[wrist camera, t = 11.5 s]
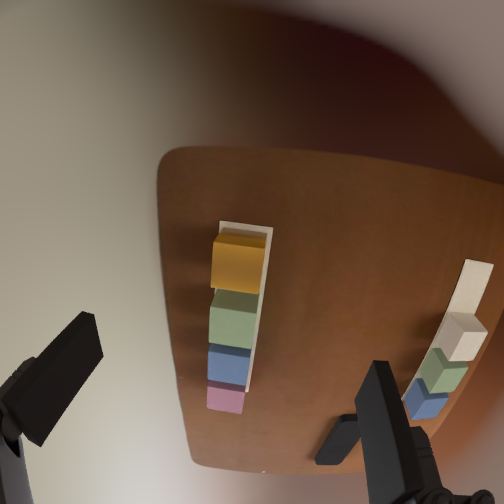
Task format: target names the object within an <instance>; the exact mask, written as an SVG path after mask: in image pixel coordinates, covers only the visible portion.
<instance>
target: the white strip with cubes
mask: <svg viewBox="0 0 504 504" xmlns="http://www.w3.org/2000/svg"><path fill="white" fill-rule="evenodd" d="M493 266H494V264H490V263H484V262H479V261H474V260H469V259H466V260H465V263H464V266H463V269H462V272H461V275H460V278H459V280H458V283H457V286H456V288H455V291H454V294H453V296H452V299H451V301H450V304H449V306H448V308H447V311H446V313H445V315H444V318H443V320H442V322H441V325H440V327H439V329H438V331H437V333H436V335H435V337H434V340H433V342H432V344H431V346H430V348H429V350H428V352H427V354H426V356H425V358H424V359H423V361H422V363H421V365H420V367H419V369H418V371H417V372H416V374H415V376H414V378H413V380H412V381H411V383H410V385H409V386H408V388H407V390H406V392H405V393H404V395H403V396H402V398H401V400H405V403H406V406H407V409H408V412H409V415H410V418H411V420H416V419H426V418H435V417H436V415H437V414H438V413H439V411H440V410H441V409H442V407H443V406H444V404H445V403H446V402H447V400H448V399H449V396H448V394H447V392H453V391H454V390H455V388H456V387H457V385H458V384H459V382H460V380H461V379H462V377H463V376H464V374H465V372H466V371H467V369H468V366H467V365H466V363H465V362H464V361H471V360H473V359H474V357H475V356H476V354H477V352H478V350H479V348H480V347H481V345H482V343H483V341H484V339H485V337H486V335H487V333H488V331H487V330H486V329H485V328H484V327H483V325H482V324H481V323H480V322H479V321H478V319H477V318H476V317H475V316H474V314H475V311H476V309H477V307H478V305H479V302H480V300H481V297H482V295H483V292H484V290H485V287H486V285H487V282H488V280H489V277H490V274H491V271H492V268H493Z"/></svg>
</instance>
